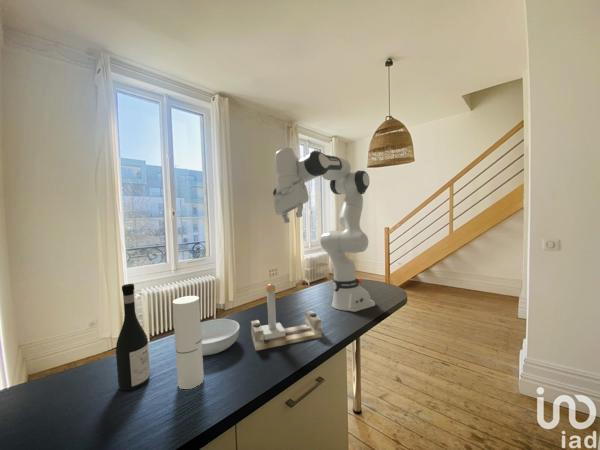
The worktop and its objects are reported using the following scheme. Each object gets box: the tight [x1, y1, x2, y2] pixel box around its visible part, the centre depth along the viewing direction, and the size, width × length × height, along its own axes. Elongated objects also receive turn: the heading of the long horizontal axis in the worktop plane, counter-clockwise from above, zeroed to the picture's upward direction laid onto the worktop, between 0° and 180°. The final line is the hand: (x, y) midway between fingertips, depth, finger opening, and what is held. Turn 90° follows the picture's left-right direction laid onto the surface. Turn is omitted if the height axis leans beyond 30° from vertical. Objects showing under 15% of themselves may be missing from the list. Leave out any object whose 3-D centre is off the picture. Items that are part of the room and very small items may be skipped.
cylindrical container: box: [172, 295, 205, 390], centre depth 77 cm, size 7×7×25 cm
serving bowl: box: [201, 318, 240, 356], centre depth 97 cm, size 21×21×7 cm
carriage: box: [261, 283, 285, 340], centre depth 100 cm, size 8×8×20 cm
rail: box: [250, 310, 323, 352], centre depth 102 cm, size 26×10×7 cm, turn 109°
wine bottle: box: [115, 283, 151, 391], centre depth 77 cm, size 8×8×30 cm
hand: (293, 220), depth 101 cm, fingers open, 8 cm apart
